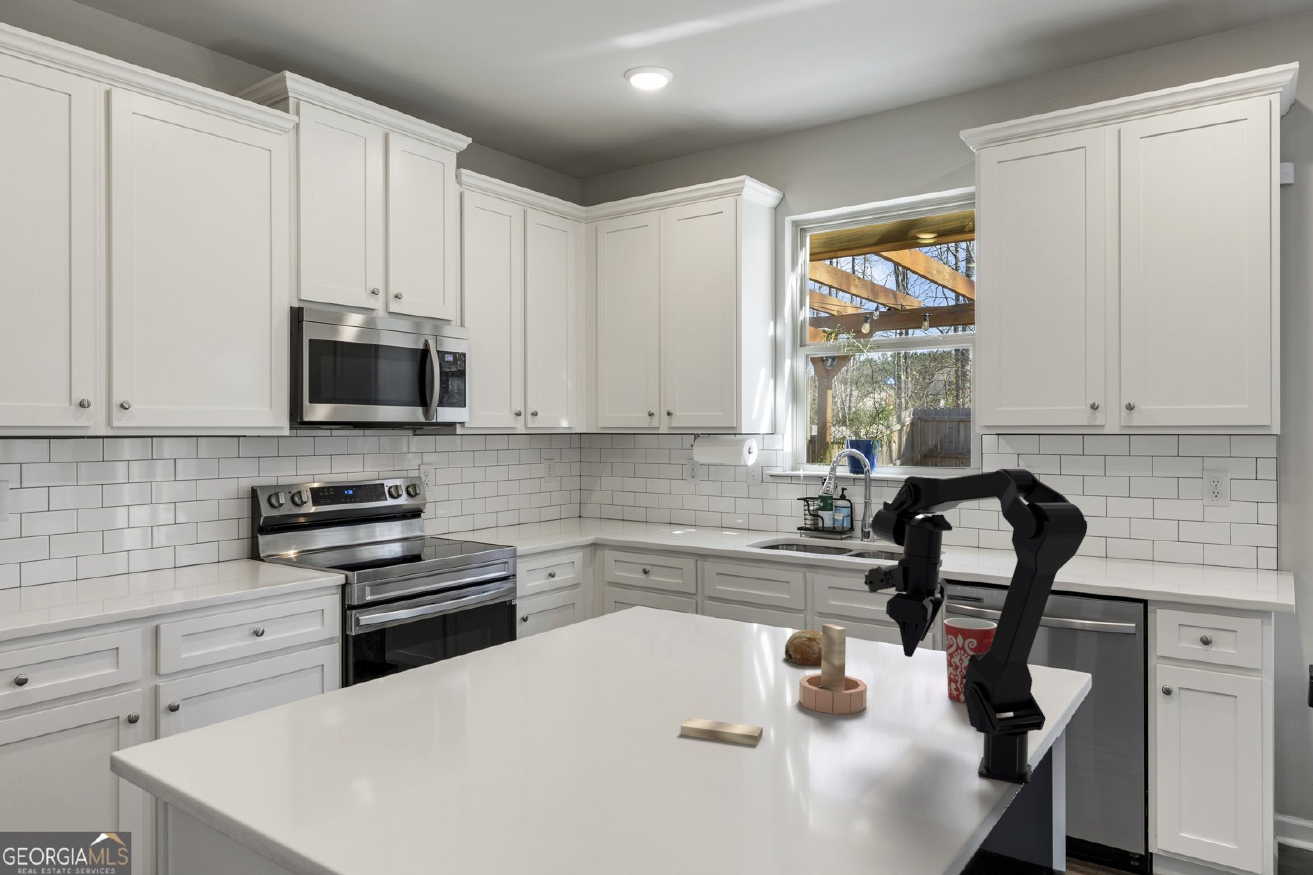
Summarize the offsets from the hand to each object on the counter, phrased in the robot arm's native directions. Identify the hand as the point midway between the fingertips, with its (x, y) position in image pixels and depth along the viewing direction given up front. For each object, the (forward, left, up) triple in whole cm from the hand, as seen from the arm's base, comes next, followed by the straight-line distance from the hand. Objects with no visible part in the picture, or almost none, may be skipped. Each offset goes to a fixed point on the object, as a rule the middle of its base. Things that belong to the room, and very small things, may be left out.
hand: (914, 648), depth 136 cm
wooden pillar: (+4, +14, -12) cm, 19 cm away
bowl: (+4, +14, -12) cm, 19 cm away
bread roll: (+30, +26, -13) cm, 41 cm away
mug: (+18, -8, -13) cm, 23 cm away
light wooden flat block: (-20, +25, -13) cm, 35 cm away
